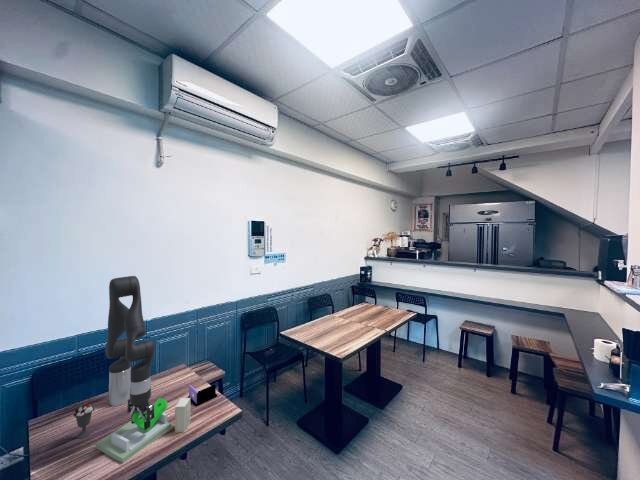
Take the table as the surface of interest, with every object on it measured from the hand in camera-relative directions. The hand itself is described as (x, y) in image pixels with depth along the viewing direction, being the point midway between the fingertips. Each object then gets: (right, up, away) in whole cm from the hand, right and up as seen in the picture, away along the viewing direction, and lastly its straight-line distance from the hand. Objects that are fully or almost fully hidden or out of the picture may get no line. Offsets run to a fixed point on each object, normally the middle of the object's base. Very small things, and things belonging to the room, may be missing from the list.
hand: (140, 425), depth 111 cm
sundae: (-26, -5, +1) cm, 26 cm away
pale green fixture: (-2, -5, 0) cm, 6 cm away
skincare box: (+15, -5, +5) cm, 17 cm away
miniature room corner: (+14, -5, +28) cm, 32 cm away
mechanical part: (+2, 0, +6) cm, 7 cm away
